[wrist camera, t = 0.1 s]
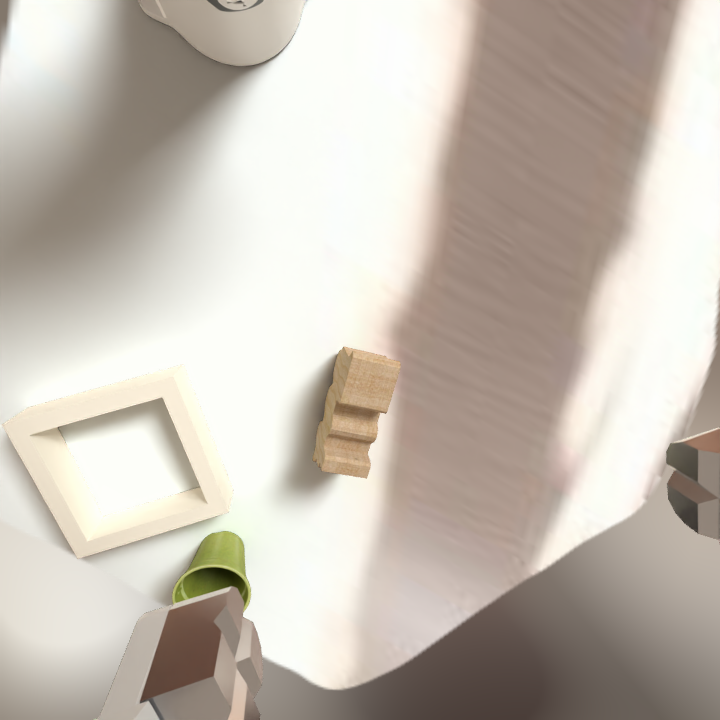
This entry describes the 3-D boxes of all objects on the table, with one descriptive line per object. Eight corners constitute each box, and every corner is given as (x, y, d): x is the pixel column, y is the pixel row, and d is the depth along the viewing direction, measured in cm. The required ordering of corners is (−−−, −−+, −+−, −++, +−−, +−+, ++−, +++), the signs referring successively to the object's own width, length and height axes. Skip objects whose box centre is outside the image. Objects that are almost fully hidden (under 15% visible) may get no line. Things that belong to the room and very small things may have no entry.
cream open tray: (28, 407, 52) (1, 424, 47) (183, 364, 53) (173, 376, 49) (95, 532, 58) (77, 559, 53) (233, 490, 59) (228, 512, 54)
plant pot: (232, 585, 63) (224, 636, 55) (174, 559, 61) (156, 609, 52) (268, 538, 62) (265, 584, 54) (210, 509, 60) (198, 553, 51)
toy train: (311, 449, 60) (316, 489, 50) (343, 333, 56) (354, 353, 46) (349, 456, 61) (361, 496, 51) (383, 342, 57) (402, 364, 47)
